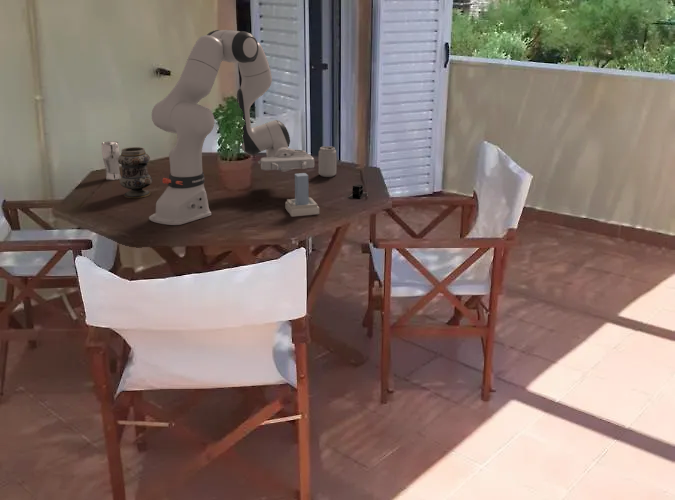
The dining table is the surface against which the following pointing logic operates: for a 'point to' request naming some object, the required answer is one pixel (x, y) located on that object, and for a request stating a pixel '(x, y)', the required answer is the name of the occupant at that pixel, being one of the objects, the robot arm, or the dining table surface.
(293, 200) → the footing
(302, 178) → the pillar
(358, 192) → the black box
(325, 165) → the can
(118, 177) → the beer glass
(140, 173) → the apothecary jar
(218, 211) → the dining table surface
